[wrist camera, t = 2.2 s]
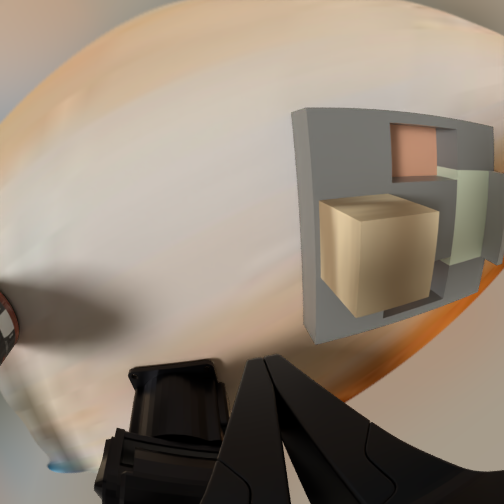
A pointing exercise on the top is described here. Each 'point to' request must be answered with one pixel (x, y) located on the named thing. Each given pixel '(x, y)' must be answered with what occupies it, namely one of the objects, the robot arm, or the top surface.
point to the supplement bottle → (7, 328)
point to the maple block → (377, 251)
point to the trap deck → (404, 186)
